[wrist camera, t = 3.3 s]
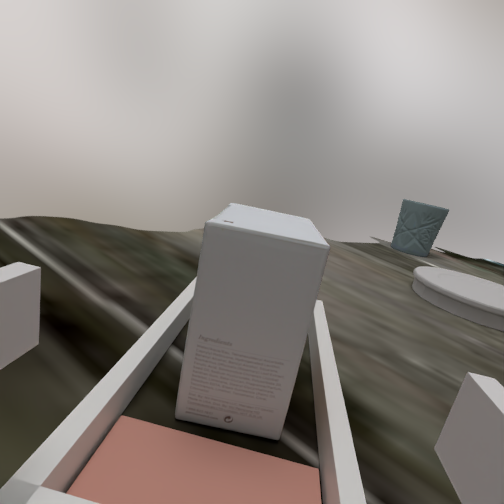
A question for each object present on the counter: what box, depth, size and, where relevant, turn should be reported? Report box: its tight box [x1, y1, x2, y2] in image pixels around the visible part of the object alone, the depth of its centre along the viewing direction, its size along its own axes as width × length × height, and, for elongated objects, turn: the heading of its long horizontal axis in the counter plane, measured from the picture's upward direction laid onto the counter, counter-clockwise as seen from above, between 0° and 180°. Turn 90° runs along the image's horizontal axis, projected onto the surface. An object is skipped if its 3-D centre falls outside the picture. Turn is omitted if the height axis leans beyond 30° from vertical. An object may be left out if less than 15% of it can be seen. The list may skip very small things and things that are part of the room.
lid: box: [412, 267, 504, 331], centre depth 48 cm, size 17×20×3 cm
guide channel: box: [0, 277, 366, 504], centre depth 20 cm, size 12×23×2 cm, turn 173°
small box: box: [175, 203, 330, 440], centre depth 19 cm, size 8×6×10 cm
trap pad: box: [66, 415, 321, 504], centre depth 13 cm, size 10×5×1 cm, turn 83°
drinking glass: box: [391, 199, 449, 257], centre depth 79 cm, size 10×10×12 cm
